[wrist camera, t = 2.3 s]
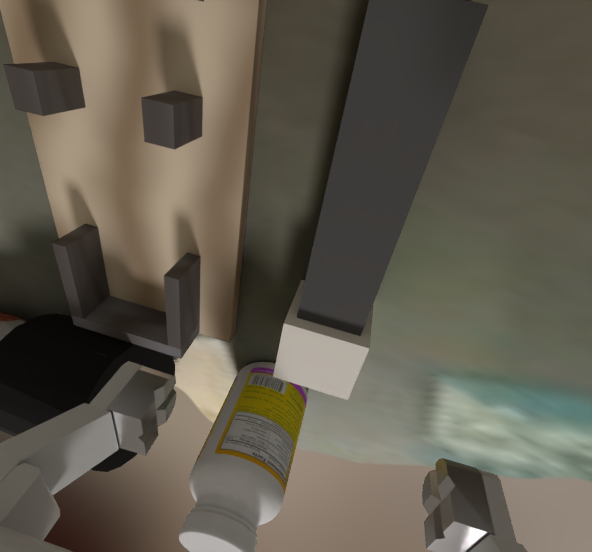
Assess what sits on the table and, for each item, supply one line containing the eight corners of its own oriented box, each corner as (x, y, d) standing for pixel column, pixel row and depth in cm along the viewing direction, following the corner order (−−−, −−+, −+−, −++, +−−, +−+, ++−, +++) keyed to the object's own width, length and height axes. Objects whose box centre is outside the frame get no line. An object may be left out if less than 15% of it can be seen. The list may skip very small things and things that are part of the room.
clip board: (275, -88, 15) (239, -126, 11) (235, 332, 29) (214, 370, 26) (-15, -139, 16) (-124, -188, 13) (83, 286, 31) (44, 317, 27)
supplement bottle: (267, 414, 34) (211, 575, 24) (224, 369, 32) (141, 525, 22) (324, 400, 31) (287, 578, 21) (280, 348, 29) (215, 519, 19)
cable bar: (483, 15, 15) (512, 6, 11) (354, 349, 27) (347, 400, 23) (364, -8, 16) (354, -25, 12) (290, 329, 28) (272, 376, 24)
